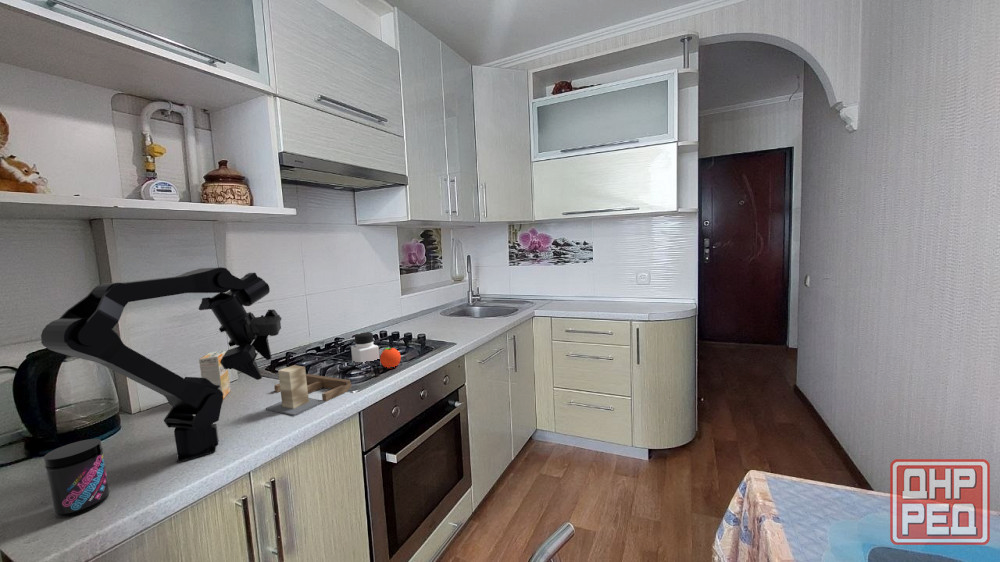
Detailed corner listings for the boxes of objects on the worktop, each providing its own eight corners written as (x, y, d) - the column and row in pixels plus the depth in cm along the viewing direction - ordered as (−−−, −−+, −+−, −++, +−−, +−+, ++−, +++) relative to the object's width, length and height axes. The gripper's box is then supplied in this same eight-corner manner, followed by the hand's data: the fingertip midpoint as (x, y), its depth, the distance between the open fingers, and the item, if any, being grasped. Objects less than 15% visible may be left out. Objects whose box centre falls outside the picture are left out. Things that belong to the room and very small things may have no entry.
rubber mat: (295, 415, 100) (294, 414, 100) (265, 409, 105) (265, 407, 105) (324, 402, 108) (324, 400, 108) (296, 396, 113) (296, 395, 113)
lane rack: (326, 401, 108) (325, 390, 108) (275, 391, 118) (273, 382, 118) (351, 389, 116) (350, 379, 116) (301, 381, 126) (300, 372, 126)
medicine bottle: (380, 365, 138) (377, 332, 137) (361, 370, 134) (357, 336, 132) (371, 361, 144) (368, 329, 142) (352, 366, 139) (349, 333, 138)
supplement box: (224, 400, 114) (218, 356, 113) (204, 403, 112) (198, 359, 111) (231, 390, 122) (226, 349, 120) (213, 393, 120) (207, 352, 119)
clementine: (375, 368, 135) (373, 348, 134) (392, 363, 140) (390, 343, 140) (388, 372, 130) (386, 351, 129) (405, 366, 135) (404, 346, 134)
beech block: (293, 408, 103) (289, 372, 102) (282, 406, 105) (278, 370, 104) (308, 402, 107) (304, 366, 106) (297, 399, 109) (293, 365, 108)
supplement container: (50, 525, 63) (38, 464, 62) (58, 506, 68) (47, 449, 67) (109, 505, 67) (99, 448, 66) (112, 488, 72) (103, 434, 71)
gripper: (256, 322, 85) (289, 377, 92) (277, 290, 102) (303, 339, 109) (203, 340, 84) (240, 395, 90) (232, 305, 100) (262, 354, 107)
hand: (264, 368), depth 99 cm, fingers open, 9 cm apart
